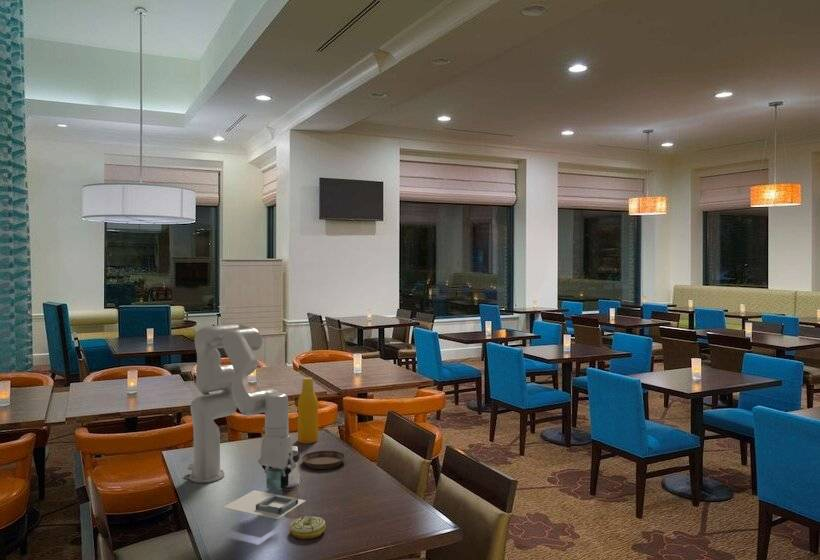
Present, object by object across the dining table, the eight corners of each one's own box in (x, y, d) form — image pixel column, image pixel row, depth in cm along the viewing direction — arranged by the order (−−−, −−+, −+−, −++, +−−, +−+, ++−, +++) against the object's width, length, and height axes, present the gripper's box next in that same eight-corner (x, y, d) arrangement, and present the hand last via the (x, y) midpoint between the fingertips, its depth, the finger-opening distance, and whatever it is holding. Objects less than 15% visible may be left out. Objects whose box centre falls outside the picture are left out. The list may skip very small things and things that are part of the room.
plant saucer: (308, 456, 252) (308, 449, 252) (349, 457, 251) (349, 450, 251) (296, 470, 235) (296, 463, 235) (340, 472, 233) (340, 464, 233)
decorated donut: (300, 523, 187) (300, 511, 187) (331, 528, 184) (331, 516, 184) (283, 537, 178) (283, 525, 177) (315, 543, 174) (315, 530, 174)
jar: (280, 491, 213) (280, 458, 212) (272, 484, 219) (272, 452, 219) (303, 486, 218) (303, 454, 217) (295, 479, 224) (295, 448, 224)
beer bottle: (307, 436, 280) (307, 375, 279) (322, 440, 274) (322, 377, 273) (293, 441, 272) (293, 378, 271) (307, 445, 267) (307, 381, 266)
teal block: (266, 488, 195) (266, 470, 194) (275, 483, 199) (275, 465, 199) (279, 490, 193) (278, 472, 192) (288, 485, 197) (288, 467, 197)
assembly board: (222, 511, 195) (222, 502, 195) (253, 494, 210) (253, 486, 210) (277, 523, 187) (277, 514, 186) (306, 504, 201) (306, 496, 201)
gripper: (248, 431, 195) (249, 485, 196) (291, 437, 189) (292, 493, 189) (263, 425, 202) (263, 478, 203) (305, 431, 195) (305, 485, 196)
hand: (277, 485), depth 196 cm, fingers closed on teal block, 5 cm apart
